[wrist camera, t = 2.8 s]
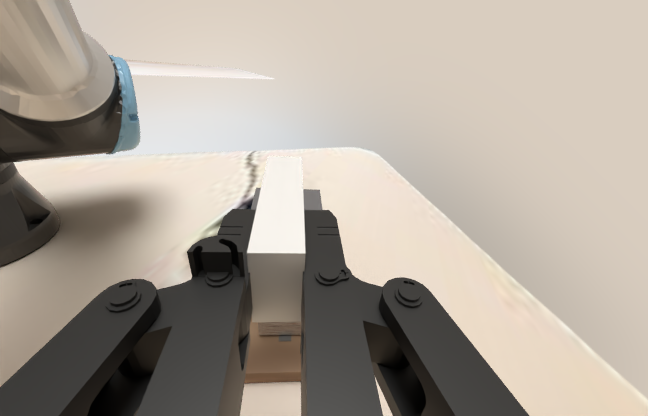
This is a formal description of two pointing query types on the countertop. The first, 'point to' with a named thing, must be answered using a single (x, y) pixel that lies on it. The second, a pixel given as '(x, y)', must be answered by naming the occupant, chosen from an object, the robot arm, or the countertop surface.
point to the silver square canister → (288, 328)
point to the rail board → (273, 357)
